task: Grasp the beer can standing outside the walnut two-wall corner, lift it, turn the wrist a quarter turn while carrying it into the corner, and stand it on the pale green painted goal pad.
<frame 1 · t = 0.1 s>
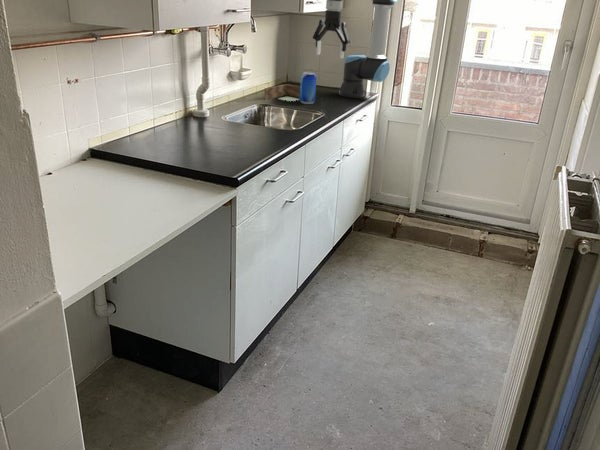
hand: (329, 56, 263), 28 cm above the kitchen counter, fingers open, 13 cm apart
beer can: (307, 103, 293), on the kitchen counter
corner walls: (287, 99, 297), on the kitchen counter
goal pad: (289, 99, 298), on the kitchen counter
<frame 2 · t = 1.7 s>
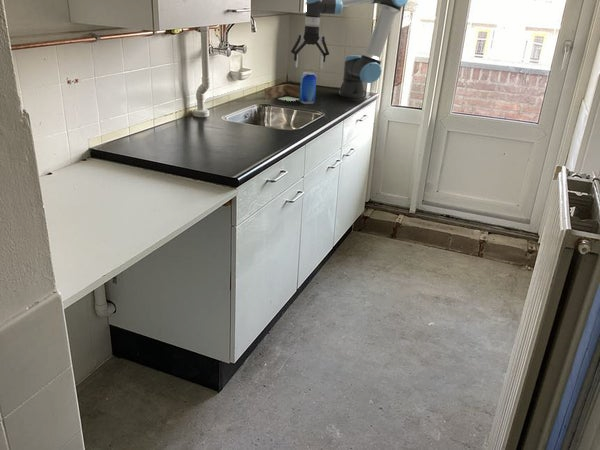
hand: (309, 67, 285), 19 cm above the kitchen counter, fingers open, 13 cm apart
nothing on the kitchen counter moved.
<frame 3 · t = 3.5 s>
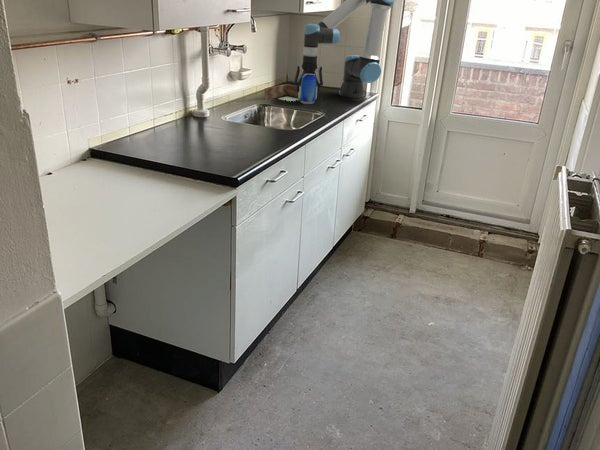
hand: (307, 98, 292), 3 cm above the kitchen counter, fingers closed on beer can, 8 cm apart
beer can: (307, 103, 293), on the kitchen counter, touching gripper
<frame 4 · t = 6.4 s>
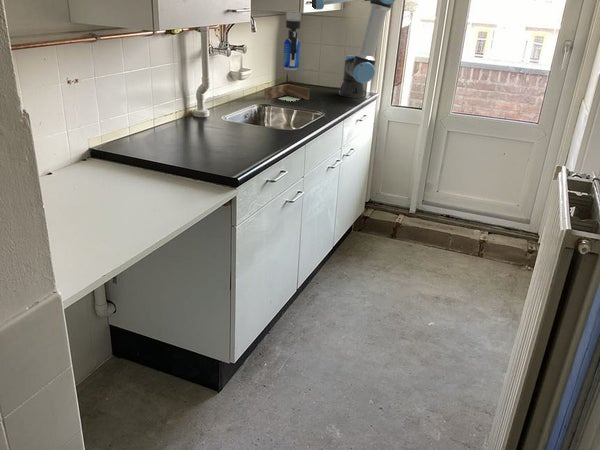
hand: (291, 64, 290), 19 cm above the kitchen counter, fingers closed on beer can, 8 cm apart
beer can: (290, 69, 291), point 16 cm above the kitchen counter, touching gripper
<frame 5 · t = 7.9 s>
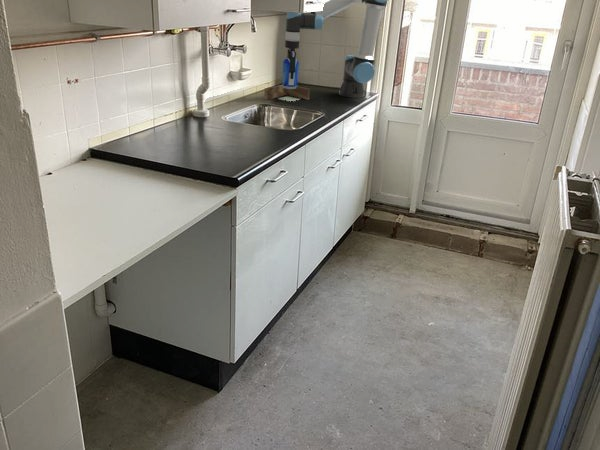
hand: (289, 83, 294), 9 cm above the kitchen counter, fingers closed on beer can, 8 cm apart
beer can: (289, 88, 295), point 6 cm above the kitchen counter, touching gripper
when the fingers open (5 cm above the kitchen counter, at t = 9.3 s): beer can drops 2 cm, resting on goal pad.
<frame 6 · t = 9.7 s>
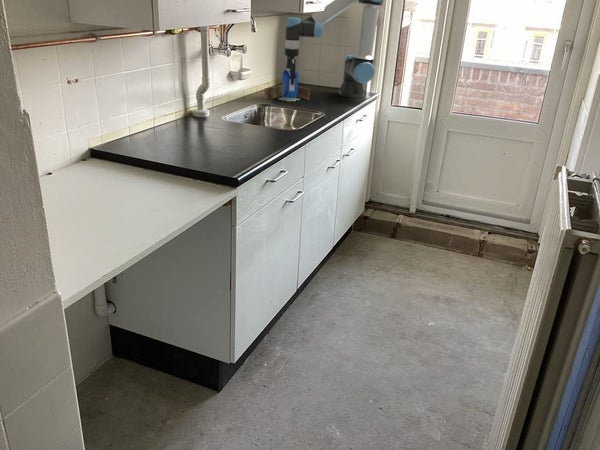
hand: (289, 88, 295), 6 cm above the kitchen counter, fingers open, 13 cm apart
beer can: (289, 99, 298), resting on goal pad
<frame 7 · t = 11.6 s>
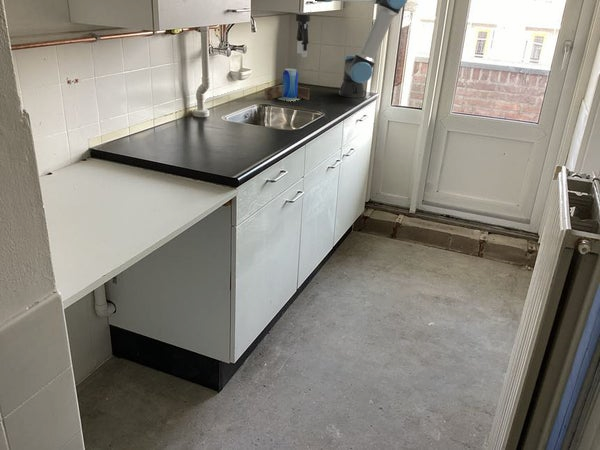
hand: (301, 55, 292), 24 cm above the kitchen counter, fingers open, 13 cm apart
nothing on the kitchen counter moved.
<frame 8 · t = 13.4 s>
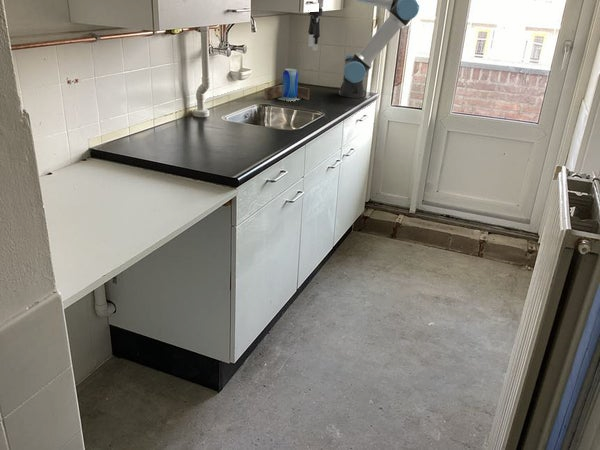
hand: (312, 48, 296), 27 cm above the kitchen counter, fingers open, 13 cm apart
nothing on the kitchen counter moved.
at the end: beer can 0.0 cm from the goal pad (horizontally); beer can tilted 0°; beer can resting on goal pad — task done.
